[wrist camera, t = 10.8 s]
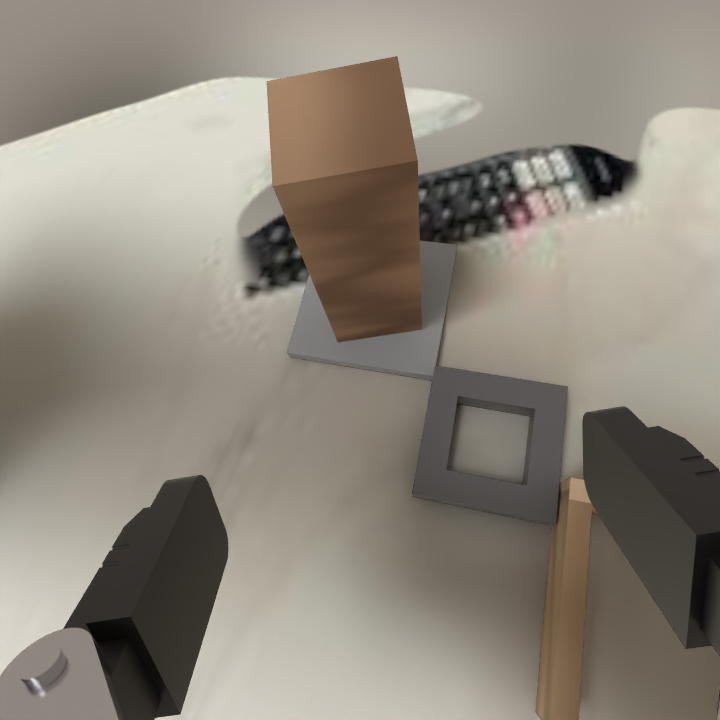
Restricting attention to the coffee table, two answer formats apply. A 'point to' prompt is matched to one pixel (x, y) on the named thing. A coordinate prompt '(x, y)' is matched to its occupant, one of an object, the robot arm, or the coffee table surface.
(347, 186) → the walnut block
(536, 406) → the grey square frame
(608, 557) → the coffee table surface
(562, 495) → the wooden u-shaped bracket
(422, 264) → the grey pad
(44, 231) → the coffee table surface
